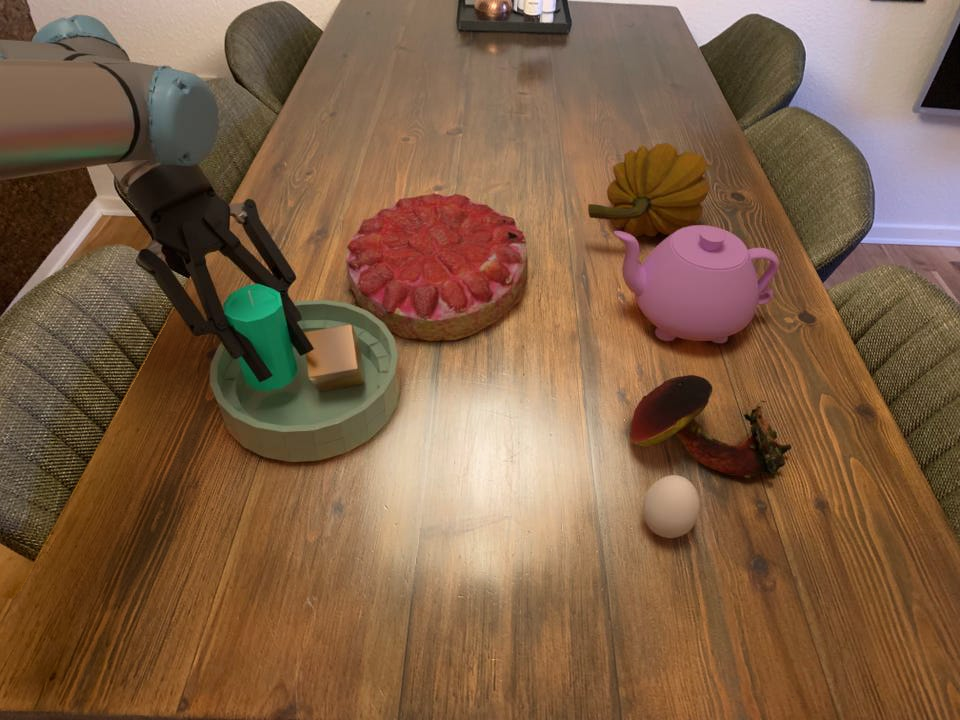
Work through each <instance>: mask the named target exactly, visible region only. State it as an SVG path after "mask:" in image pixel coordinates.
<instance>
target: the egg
mask: <svg viewBox="0 0 960 720" xmlns="http://www.w3.org/2000/svg"><path fill="white" fill-rule="evenodd" d="M700 507H701V502H700V497H699V494H698V491H697V489H696V487H695V486H694V484H693V483H692V482H691V481H689V479H687V478H686V477H684V476H682V475H677V474H671V475H666V476H663V477H661V478H660V479H658V480H656V481H655V482H653V483H652V485H651V486H650V487H649V488H648V489H647V491H646V493H645V496H644V498H643V501H642V507H641V508H642V509H641V510H642V516H643V519H644V522H645V523H646V525H647V527H648V528H649V529H650V530H651V531H652V532H653V533H654V534H656V535H658V536H660V537H663V538H666V539H667V538H668V539H675V538H676V539H677V538H679V537H682V536H684V535H686V534H687V533H689V531H690V530H692V529H693V528H694V525H695V524H696V523H697V520H698V519H699V514H700Z"/></svg>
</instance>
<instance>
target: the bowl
mask: <svg viewBox="0 0 960 720" xmlns="http://www.w3.org/2000/svg"><path fill="white" fill-rule="evenodd" d="M293 303H294V305H295V306H296V308H297V309H298V311H299V312H300V314H301V317H302V319H301V320H300V321H298V322H297V323H298V325H299V326H300V328H301V329H302V331H303V332H309V331H315V330H320V329H326V328H332V327H337V326H343V325H349V324H352V326H353V328H354V331H355V333H356V335H357V338H358V340H359V343H360V350H361V356H362V363H363V370H364V377H365V384H362V385H357V386H351V387H346V388H340V389H335V390H329V391H323V392H319V391H318V390H317V389H316V387H315V386H314V384H313V383H312V382H311V380H310V379H309V377H308V369H307V361H306V354H304V355H302V356H300V355H299V353H298V352H297V350H296V349H295V347H294V346H293V344H292V347H293V351H294V355H295V359H296V364H297V369H298V372H297V374H296V376H295V377H294V379H293V381H292V382H290V383H289V384H287V385H286V386H284V387H283V388H281V389H276V390H271V391H262V390H257V389H253V388H252V387H251V386H250V385H249V384H248V383H247V382H246V381H245V378H244V375H243V372H242V369H241V365H240V362H239V359H236V360H235V359H234V358H232V357H231V356H230V354H229V353H228V351H227V350H226V348H225V347H224V346H223V344H222V343H221V342H220V343H219V345H218V347H217V349H216V351H215V354H214V356H213V358H212V359H211V362H210V366H209V367H210V368H209V370H210V371H209V385H210V388H211V391H212V394H213V397H214V399H215V402H216V405H217V408H218V411H219V413H220V415H221V418H222V421H223V423H224V425H225V428H226V430H227V432H228V433H229V434H230V435H231V436H232V437H233V438H234V440H236V441H237V442H238V444H239V445H241V446H242V448H244V449H247V450H249V451H251V452H253V453H255V454H256V455H259V456H261V457H263V458H267V459H273V460H277V461H283V462H289V463H299V462H314V461H315V462H317V461H323V460H325V459H329V458H332V457H336V456H340V455H343V454H346V453H348V452H350V451H352V450H353V449H356V448H358V447H359V446H361V445H363V444H365V443H366V442H368V441H370V439H372V438H373V437H374V436H375V435H376V434H377V433H378V432H379V431H380V430H382V428H383V427H385V426H386V425H387V423H388V422H389V420H390V419H391V417H392V415H393V413H394V412H395V410H396V408H397V407H398V404H399V399H400V392H401V387H402V384H401V372H400V359H399V358H400V357H399V351H398V348H397V344H396V343H397V342H396V338H395V337H394V335H393V334H392V332H391V331H389V330H388V328H387V327H386V325H385V324H384V323H383V322H382V321H381V320H379V319H378V318H377V317H375V316H374V315H372V314H371V313H370V312H368V311H367V310H364V309H362V308H361V307H360V306H359V307H358V306H356V305H353V304H352V303H348V302H343V301H336V300H330V299H305V300H303V299H301V300H297V301H293Z"/></svg>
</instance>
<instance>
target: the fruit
mask: <svg viewBox="0 0 960 720" xmlns="http://www.w3.org/2000/svg"><path fill="white" fill-rule="evenodd" d="M708 167H709V165H708V163H707V162H706V160H705V158H704V156H703V155H702V154H698V153H695V152H691V151H684V152H682V153H679V154H678V150H677V148H676V147H675V146H673V145H672V144H670V143H669V142H665V143H664V142H663V143H657V144H656V145H654V146H653V147H651V149H648V148H647V146H646V145H645V146H644V145H643V146H638V148H637V150H636V151H634V150H633V149H631V150H629V151H628V152H626V153H625V152H624V159H623V161H622V162H618V163H616V164H615V165H613V167H612V168H613V169H612V172H613V175H614V179H613V180H612V181H611V182H610V184H609V185H608V186H607V188H606V189H607V190H606V196H607V200H608V201H609V203H610V204H612V205H613V206H605V205H601V204H594V203H588V204H587V211H588V216H589V219H599V220H612V223H613V225H614V226H615V227H616V228H623V232H625V233H628V234H630V235H632V236H634V237H635V238H636V237H640V236H642V235H645V236H647V237H656V236H657V235H658V234H659V233H661V234H663V235H671V234H673V233H674V232H676V231H677V230H679V229H682V228H684V227H688V226H691V225H692V224H694V223H696V222H698V221H699V220H701V218H702V214H703V209H704V207H703V205H702V203H703V202H704V201H705V200H706V198H707V196H708V194H709V191H710V188H709V184H708V181H707V178H706V177H704V176H703V175H705V172H706V171H707V170H708Z"/></svg>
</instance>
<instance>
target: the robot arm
mask: <svg viewBox="0 0 960 720" xmlns="http://www.w3.org/2000/svg"><path fill="white" fill-rule="evenodd" d="M218 133H219V107H218V103H217V99H216V97H215V95H214V92H213V91H212V89H211V87H210V86H209V84H208V83H207V82H206V81H205V80H204V79H203V78H201V77H200V76H198V74H194V73H192V72H189V71H185V70H180V69H175V68H172V67H171V66H170V65H154V64H149V63H148V64H147V63H142V62H136V61H131V59H130V57H129V54H128V52H126V50H125V49H124V48H123V46H121V45H120V44H119V42H118V40H117V39H116V38H115V37H114V35H113V34H112V32H111V31H110V30H109V29H108V27H107V26H106V25H105V24H104V23H103V22H102V21H101V20H99V19H97V18H96V17H94V16H91V15H86V14H73V15H72V16H70V17H67V18H66V17H60V18H57V19H54V20H52V21H51V22H48V23H46V24H45V25H44V26H42V27H41V28H40V29H39V30H38V31H37V32H36V33H35V34H34V35H33V38H32V39H31V41H29V40H27V41H26V40H14V39H0V181H6V180H7V181H8V180H14V179H20V178H25V177H26V178H27V177H32V176H40V175H45V174H51V173H59V172H66V171H71V170H78V169H84V168H85V169H86V168H91V167H98V166H104V165H106V166H107V167H108V169H109V170H110V172H111V174H112V175H113V176H114V178H115V180H116V181H117V182H118V184H119V185H120V186H121V187H123V188H127V192H126V195H127V197H128V199H129V200H130V201H131V203H132V204H133V206H134V207H135V209H136V211H137V212H138V213H139V215H140V216H141V218H142V219H143V221H144V222H145V224H146V225H147V227H148V228H149V230H150V238H151V242H150V243H149V244H148V245H147V246H145V248H142V249H140V250H139V252H138V253H137V255H136V258H135V263H136V265H137V266H138V267H140V268H141V269H142V270H144V272H146V273H147V274H149V275H150V276H152V277H153V278H154V281H155V282H156V283H157V285H158V286H159V287H160V289H161V291H162V292H163V294H164V295H165V297H166V298H167V299H168V301H169V302H170V304H171V305H172V306H173V308H174V310H175V311H176V312H177V314H178V316H180V318H181V319H182V321H183V322H184V323H185V325H186V327H187V328H188V329H189V331H190V332H191V334H192V335H193V336H194V337H196V338H200V337H202V336H207V335H213V336H215V337H217V338H218V340H219V341H220V343H222V344H223V346H224V347H225V348H226V350H227V351H228V353H229V354H230V356H231V357H232V358H234V359H235V360H236V359H238V358H239V357H241V356H242V357H243V359H244V360H245V362H246V363H247V365H248V366H249V368H250V369H251V371H252V372H253V373H254V375H255V376H256V378H257V379H258V381H259V382H262V381H264V380H267V379H268V378H270V377H271V376H273V375H272V373H271V372H270V370H269V369H268V367H267V366H266V365H265V363H264V362H263V360H262V359H261V357H260V356H259V354H258V353H257V351H256V350H255V348H254V347H253V345H252V344H251V342H250V341H249V339H248V338H247V337H245V336H244V335H242V334H241V333H240V332H238V331H237V330H235V328H234V327H233V325H232V326H230V327H229V325H228V321H227V318H226V316H225V314H224V309H223V305H222V303H221V300H220V297H219V295H218V292H217V290H216V286H215V285H214V281H213V279H212V276H211V273H210V270H209V269H208V266H207V258H206V256H207V255H208V254H211V253H215V252H219V253H220V254H221V255H222V256H224V257H226V258H228V259H229V260H230V261H231V262H232V263H233V264H234V265H235V266H236V267H237V268H238V269H239V270H240V271H241V272H242V273H243V274H244V275H246V277H247V278H248V279H250V281H252V282H253V284H260V285H263V286H266V287H269V288H272V289H274V290H276V291H277V292H279V293H280V296H281V300H282V305H283V309H284V314H285V319H286V323H287V327H288V331H289V335H290V340H291V343H292V344H293V346H294V347H295V349H296V350H297V352H298V353H299V355H300V356H302V355H304V354H306V353H308V352H310V351H312V350H313V349H314V348H313V346H312V345H311V343H310V342H309V340H308V338H307V337H306V335H305V334H304V332H303V331H302V329H301V328H300V326H299V325H298V323H297V322H298V321H300V320H301V319H302V317H301V314H300V312H299V311H298V309H297V308H296V306H295V305H294V303H293V302H294V301H293V299H291V296H290V295H289V288H291V286H292V285H293V283H294V282H295V281H296V280H297V275H296V273H295V271H294V270H293V268H292V266H291V265H290V264H289V262H288V261H287V259H286V257H285V255H284V254H283V253H282V252H281V250H280V248H279V247H278V245H277V244H276V242H275V241H274V239H273V237H272V236H271V234H270V233H269V231H268V230H267V228H266V227H265V224H264V223H263V222H262V220H261V218H260V214H259V211H258V207H257V204H256V201H254V200H253V199H252V198H247V199H245V200H244V202H237V203H228V201H226V200H225V199H223V197H220V196H219V195H218V194H217V193H216V191H215V189H214V187H213V185H212V184H211V182H210V181H209V179H208V178H207V176H206V174H205V173H204V172H203V170H202V168H201V167H200V165H199V164H201V163H202V162H203V161H204V160H205V159H207V157H208V156H209V155H210V154H211V152H212V150H213V149H214V146H215V144H216V141H217V138H218ZM231 217H232V218H233V219H234V220H235V222H236V223H237V224H239V225H241V227H242V228H243V230H244V233H245V235H246V236H247V237H248V239H249V240H250V242H251V243H252V245H253V246H254V248H255V250H256V251H257V253H258V254H259V256H260V257H261V259H262V260H263V261H264V264H265V265H266V266H267V267H266V266H264V265H263V263H261V261H260V260H258V258H257V257H256V256H255V255H254V254H252V253H251V252H250V251H249V250H248V248H246V247H245V246H244V245H243V244H242V242H241V240H240V239H239V237H238V236H237V235H236V234H235V233H234V232H233V231H231V228H230V227H231ZM162 250H165V251H167V252H169V253H171V254H173V255H175V256H178V257H180V258H182V260H183V263H184V266H185V269H186V271H187V273H188V274H189V275H190V278H191V280H192V283H193V286H194V288H195V291H196V294H197V297H198V299H199V302H200V304H201V308H202V309H203V313H204V315H205V317H204V316H203V314H202V313H201V311H200V310H199V308H198V307H197V305H196V304H195V302H194V301H193V300H192V298H191V297H190V295H189V294H188V292H187V291H186V290H185V288H184V286H183V285H182V283H181V282H180V281H179V279H178V277H177V276H176V274H175V273H174V272H173V270H172V269H171V267H170V266H169V264H167V263H166V262H165V261H166V255H165V254H164V252H163V251H162ZM205 318H206V319H205Z"/></svg>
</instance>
